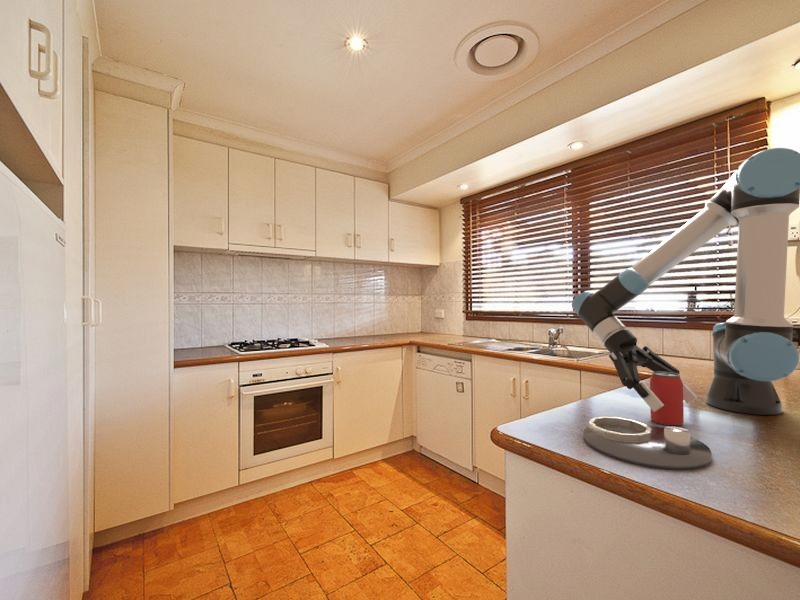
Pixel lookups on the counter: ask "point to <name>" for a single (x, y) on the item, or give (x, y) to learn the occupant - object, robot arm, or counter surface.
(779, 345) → the robot arm
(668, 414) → the beer can
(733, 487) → the counter surface
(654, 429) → the carrier plate
